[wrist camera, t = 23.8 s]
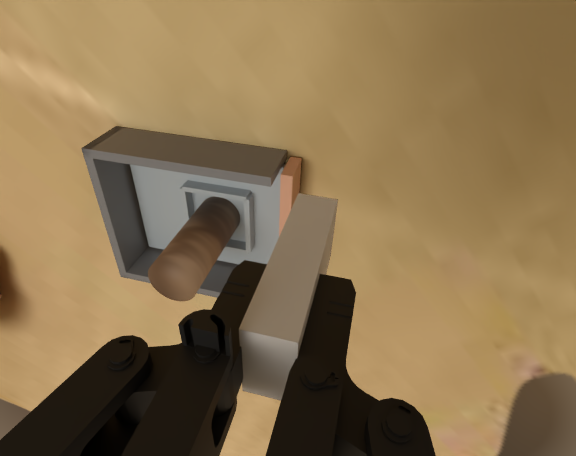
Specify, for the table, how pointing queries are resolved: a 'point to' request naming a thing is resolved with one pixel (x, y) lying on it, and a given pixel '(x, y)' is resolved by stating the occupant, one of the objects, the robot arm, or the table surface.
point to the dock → (173, 157)
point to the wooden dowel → (194, 249)
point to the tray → (246, 197)
